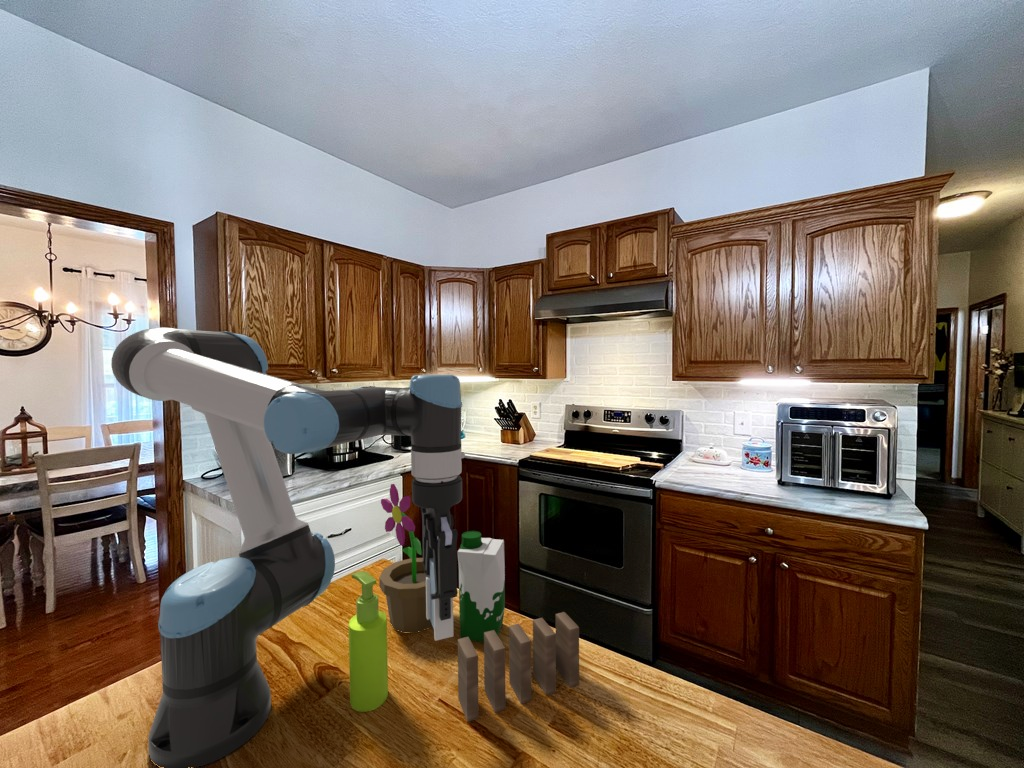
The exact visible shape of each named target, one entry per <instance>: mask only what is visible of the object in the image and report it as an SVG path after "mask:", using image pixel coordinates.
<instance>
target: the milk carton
mask: <svg viewBox="0 0 1024 768" xmlns="http://www.w3.org/2000/svg"><path fill="white" fill-rule="evenodd" d="M457 561H458V562H457V564H458V589H459V590H458V597H459V599H458V602H459V610H458V611H459V635H460V636H459V639H461V638H465V637H469V639H470V641H471V642H481V643H484V632H488V631H492V630H494V631H495V632H496V634H497V635H498V636H499V633H500V631H501V628H502V626H503V623H504V616H505V610H506V608H505V607H506V606H505V605H506V589H505V588H506V586H505V585H506V581H505V580H506V579H505V578H506V577H505V576H506V574H505V573H506V571H505V570H506V569H505V568H506V566H505V540H504V539H497V538H496V539H495V538H491V537H482V533H481V532H480V531H476V530H469V531H465V532H463V533H462V534H461V544H460V547H459V548H458V550H457Z"/></svg>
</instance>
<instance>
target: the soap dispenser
mask: <svg viewBox="0 0 1024 768" xmlns="http://www.w3.org/2000/svg"><path fill="white" fill-rule="evenodd" d="M351 578H352V579H355V580H356V581H358V583H359V584H361V595H359V597H358V598H356V614H355V615H353V616H352V617H351V618H350V619H349V621H348V655H349V656H348V660H349V663H348V664H349V698H350V699H349V703H350V706H351V708H352V709H353V710H355V711H357V712H371V711H373V710H376V709H378V708H380V707H381V706H382V705H383V704H384V703H385V702H386V700H387V698H388V696H389V684H388V683H389V679H388V677H389V676H388V675H389V673H388V629H387V627H388V622H387V621H388V620H387V619H388V618H387V614H386V613H385V612H384V611H382V610H379V609H380V608H379V595H378V594H376V593H374V591H373V590H374V589H373V587H374V585H376V584H377V579H376V578H375V577H374V576H372V575H371V573H369V572H367V571H365V570H364V571H363V570H360V571H359V572H355V573H352V574H351Z"/></svg>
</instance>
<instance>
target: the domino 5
mask: <svg viewBox="0 0 1024 768" xmlns="http://www.w3.org/2000/svg"><path fill="white" fill-rule="evenodd" d="M556 672H557V670H556V631H554V630H553V629H552V628H551V626H550V625H549V623H547V621H546V620H545V619H544V618H543V617H539V618H536V619H535V618H534V619H532V676H533V677H534V679H535V681H536V682H537V684H538V685H539V687H540V688H541V690H542V692H543V693H544V695H545V696H550V695H553V694H555V693H557V688H556V687H557V679H556V678H557V675H556V674H557V673H556Z"/></svg>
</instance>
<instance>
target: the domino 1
mask: <svg viewBox="0 0 1024 768" xmlns="http://www.w3.org/2000/svg"><path fill="white" fill-rule="evenodd" d="M435 592H436V591H435V576H434V561H433V558H430V594H434V593H435ZM430 621H431V623H432V626H431V627H432V629H433V630H434V599H433V600H431V595H430Z"/></svg>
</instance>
